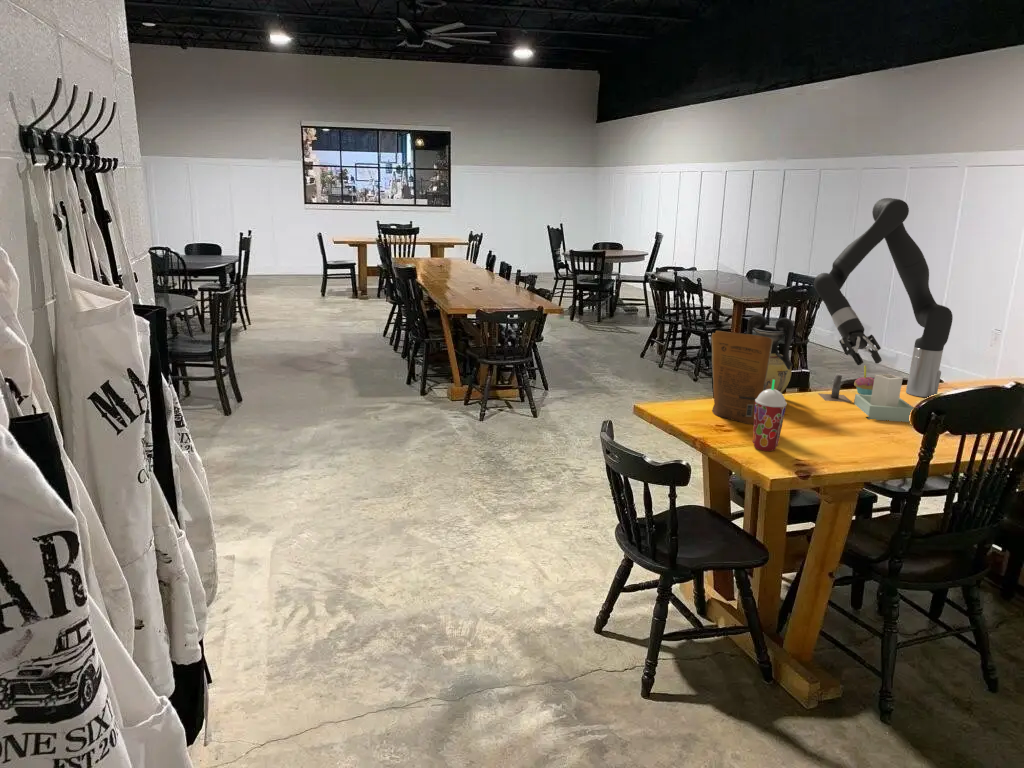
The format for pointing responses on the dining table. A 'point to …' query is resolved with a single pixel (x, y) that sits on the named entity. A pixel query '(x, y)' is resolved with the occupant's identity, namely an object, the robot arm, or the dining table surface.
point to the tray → (883, 409)
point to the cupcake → (864, 384)
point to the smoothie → (768, 419)
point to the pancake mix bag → (738, 373)
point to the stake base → (828, 398)
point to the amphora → (775, 349)
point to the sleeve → (886, 390)
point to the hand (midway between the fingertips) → (870, 363)
